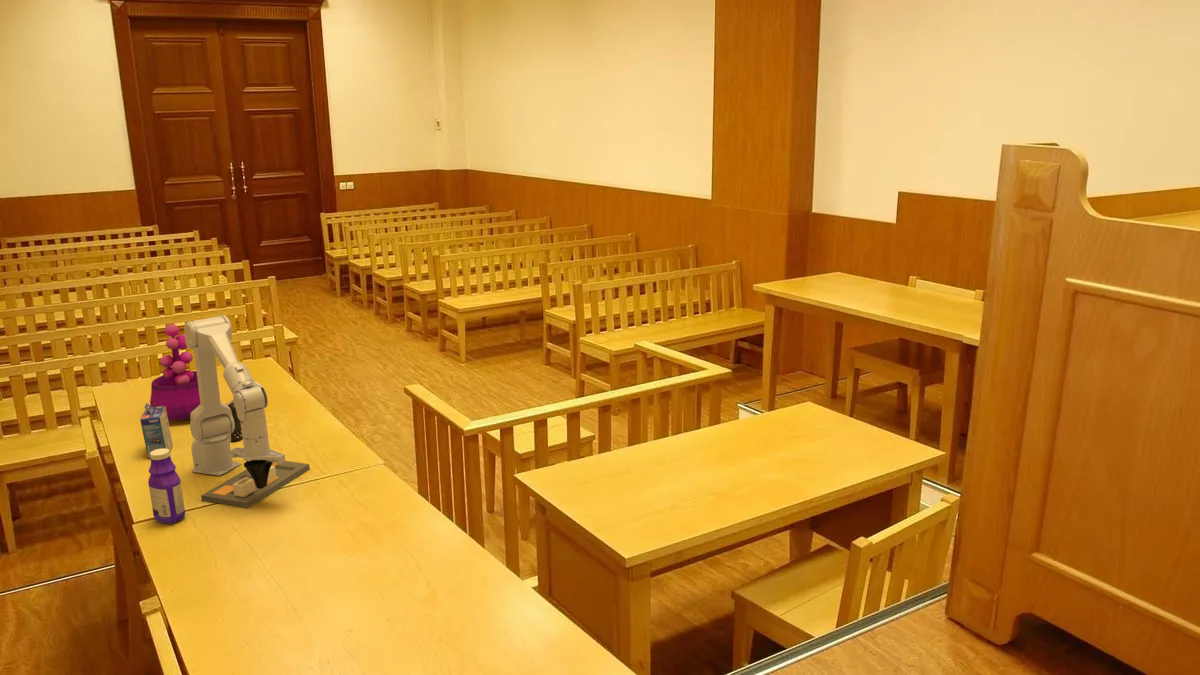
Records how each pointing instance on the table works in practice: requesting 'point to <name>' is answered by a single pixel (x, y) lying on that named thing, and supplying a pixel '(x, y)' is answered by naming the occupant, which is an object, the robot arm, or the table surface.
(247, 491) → the switch
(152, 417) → the ink cartridge box
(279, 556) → the table surface
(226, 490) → the switch board
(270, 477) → the switch
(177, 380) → the decorative plant
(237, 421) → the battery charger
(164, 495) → the bottle
